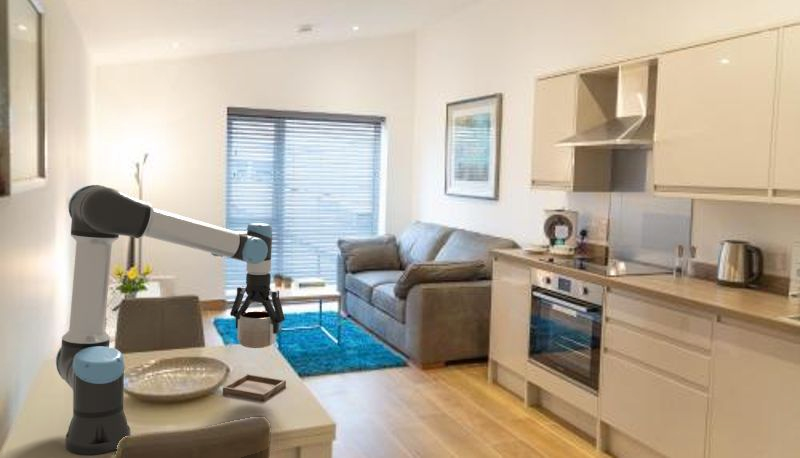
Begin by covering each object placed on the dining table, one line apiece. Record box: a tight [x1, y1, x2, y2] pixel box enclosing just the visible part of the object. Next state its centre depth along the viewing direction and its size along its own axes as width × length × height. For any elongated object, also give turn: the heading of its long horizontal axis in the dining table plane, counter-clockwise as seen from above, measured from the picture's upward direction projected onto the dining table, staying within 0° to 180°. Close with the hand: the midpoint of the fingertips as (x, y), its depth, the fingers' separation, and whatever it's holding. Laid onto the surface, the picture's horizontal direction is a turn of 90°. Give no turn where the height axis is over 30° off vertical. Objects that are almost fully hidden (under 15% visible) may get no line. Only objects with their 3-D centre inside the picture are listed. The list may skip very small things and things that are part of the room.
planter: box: [238, 310, 273, 349], centre depth 208 cm, size 11×11×10 cm
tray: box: [222, 373, 287, 402], centre depth 210 cm, size 14×14×2 cm
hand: (256, 340), depth 208 cm, fingers closed on planter, 11 cm apart
